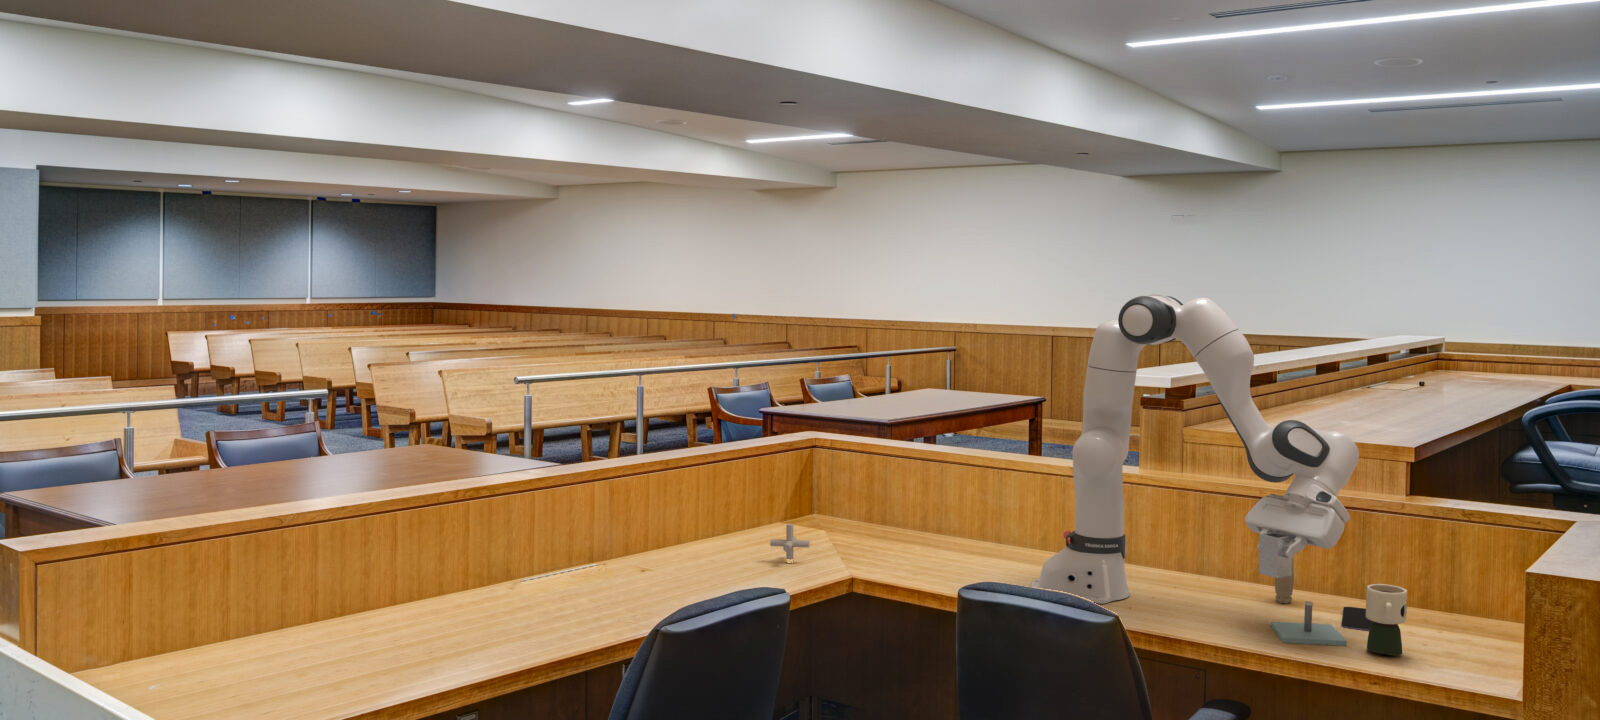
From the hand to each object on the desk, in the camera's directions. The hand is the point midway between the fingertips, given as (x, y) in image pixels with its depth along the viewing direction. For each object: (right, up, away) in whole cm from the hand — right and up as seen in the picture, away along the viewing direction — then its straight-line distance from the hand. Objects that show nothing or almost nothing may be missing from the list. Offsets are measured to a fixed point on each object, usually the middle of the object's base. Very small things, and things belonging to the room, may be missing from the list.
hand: (1273, 553), depth 232 cm
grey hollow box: (+1, -4, +1) cm, 4 cm away
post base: (+9, -18, +4) cm, 20 cm away
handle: (+14, -16, +29) cm, 36 cm away
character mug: (+19, -19, -7) cm, 28 cm away
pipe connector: (-99, -13, +64) cm, 118 cm away
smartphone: (+25, -18, +15) cm, 34 cm away
